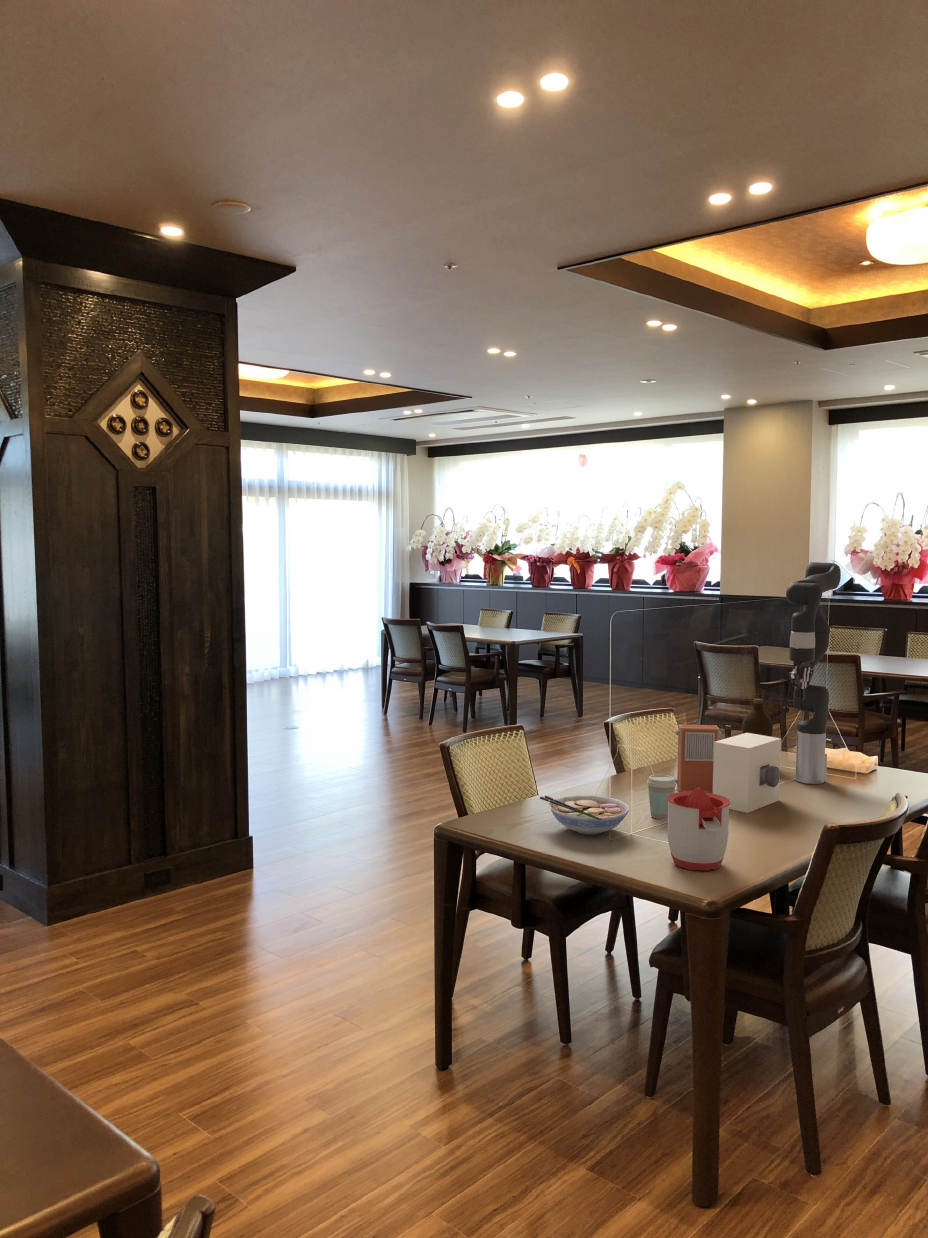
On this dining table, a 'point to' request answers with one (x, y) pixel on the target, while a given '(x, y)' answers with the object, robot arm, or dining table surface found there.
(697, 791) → the citrus juicer
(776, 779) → the knob
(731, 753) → the knob mount
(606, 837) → the dining table surface
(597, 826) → the ramen bowl
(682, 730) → the orange radio
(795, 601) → the robot arm
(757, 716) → the olive oil
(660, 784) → the coffee cup
